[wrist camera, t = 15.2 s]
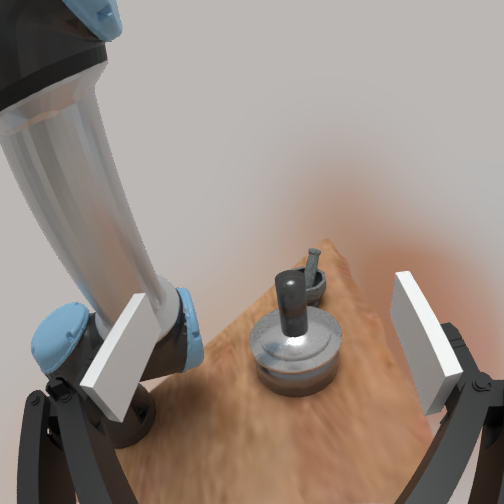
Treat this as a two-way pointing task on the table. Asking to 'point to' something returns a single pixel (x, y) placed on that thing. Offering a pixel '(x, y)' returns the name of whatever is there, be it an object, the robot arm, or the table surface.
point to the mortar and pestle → (313, 278)
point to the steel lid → (294, 322)
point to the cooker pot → (297, 365)
